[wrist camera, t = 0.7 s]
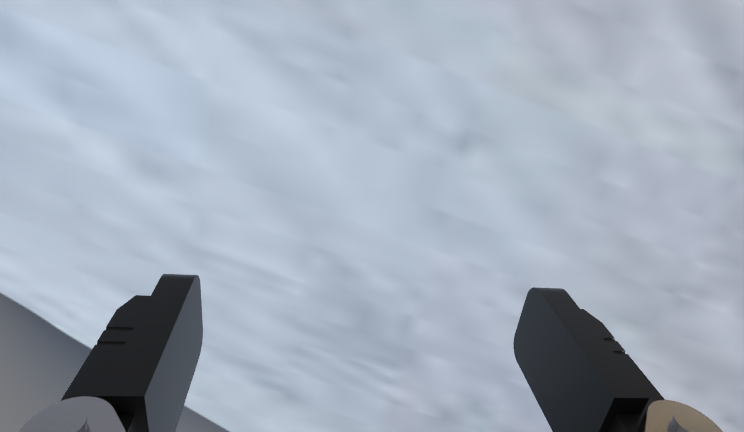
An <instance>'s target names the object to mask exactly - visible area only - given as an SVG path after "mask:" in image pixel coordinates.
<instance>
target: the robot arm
mask: <svg viewBox="0 0 744 432" xmlns="http://www.w3.org/2000/svg"><path fill="white" fill-rule="evenodd" d="M202 337H203V325H202V307H201V289H200V279H199V276H198V275H176V274H163V275H162V276H161V278H160V280H159V282H158V284H157V285H156V287H155V289H154V291H153V293H152V295H151V296H138V295H136V296H134V297H133V298H132V299H130V300H129V301H128V302H127V303H125V304H124V305H123V306H121V307H120V308H119V309H117V310H116V312H115V314H114V315H113V317H112V318H111V320H110V322H109V323H108V325H107V327H106V330H104V331H103V333H102V335H101V336H100V338H99V340H98V341H97V345H95V346H94V348H93V349H92V351H91V353H90V354H89V356H88V358H87V359H86V361H85V362H84V364H83V366H82V367H81V369H80V370H79V372H78V374H77V375H76V377H75V378H74V380H73V382H72V383H71V385H70V387H69V388H68V390H67V392H66V393H65V395H64V396H63V398H62V400H61V401H59V402H57V403H54V404H52V405H50V406H48V407H46V408H44V409H43V410H41V411H39V412H38V413H37V414H35V415H34V416H33V417H31V419H29V420H28V421H27V422H26V423H25V424H24V426H23V427H22V428H21V429H20V431H19V432H175V430H176V427H177V424H178V421H179V418H180V415H181V412H182V409H183V406H184V403H185V399H186V396H187V393H188V390H189V387H190V384H191V381H192V378H193V375H194V372H195V368H196V365H197V362H198V359H199V356H200V352H201V346H202ZM614 339H615V338H614V337H613V336H612V334H611V333H610V332H609V331H608V329H607V328H606V327H605V326H604V325H603V323H602V322H600V321H599V320H597V319H596V318H595V317H593V316H592V315H591V314H589V313H588V312H587V311H585V310H584V309H580V308H579V307H578V306H577V305H576V303H575V302H574V301H573V299H572V298H571V297H570V296H569V294H568V293H567V292H566V291H565V290H564V289H556V288H532V289H530V290H529V292H528V294H527V297H526V300H525V303H524V307H523V310H522V313H521V316H520V320H519V323H518V326H517V329H516V333H515V337H514V353H515V357H516V360H517V362H518V364H519V366H520V368H521V370H522V372H523V374H524V376H525V378H526V380H527V382H528V384H529V386H530V388H531V390H532V392H533V394H534V396H535V398H536V400H537V402H538V404H539V406H540V407H541V409H542V411H543V413H544V415H545V417H546V419H547V421H548V423H549V425H550V427H551V429H552V431H553V432H722V430H721V429H720V428H719V427H718V426H717V425H716V424H715V423H714V422H713V421H712V420H710V419H709V418H708V417H707V416H705V415H704V414H702V413H701V412H699V411H697V410H696V409H694V408H692V407H690V406H687V405H685V404H682V403H679V402H675V401H670V400H665V399H664V398H663V397H662V396H661V395H660V393H659V392H658V391H657V390H656V388H655V387H654V386H653V385H652V384H651V382H650V381H649V380H648V379H647V377H646V376H645V375H644V374H643V372H642V371H641V370H640V369H639V368H638V366H637V365H636V364H635V363H634V361H633V360H632V359H631V358H630V357H629V355H628V354H625V350H624V349H623V348H622V347H621V345H620V344H619V343H618V342H617V341H615V340H614Z"/></svg>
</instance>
